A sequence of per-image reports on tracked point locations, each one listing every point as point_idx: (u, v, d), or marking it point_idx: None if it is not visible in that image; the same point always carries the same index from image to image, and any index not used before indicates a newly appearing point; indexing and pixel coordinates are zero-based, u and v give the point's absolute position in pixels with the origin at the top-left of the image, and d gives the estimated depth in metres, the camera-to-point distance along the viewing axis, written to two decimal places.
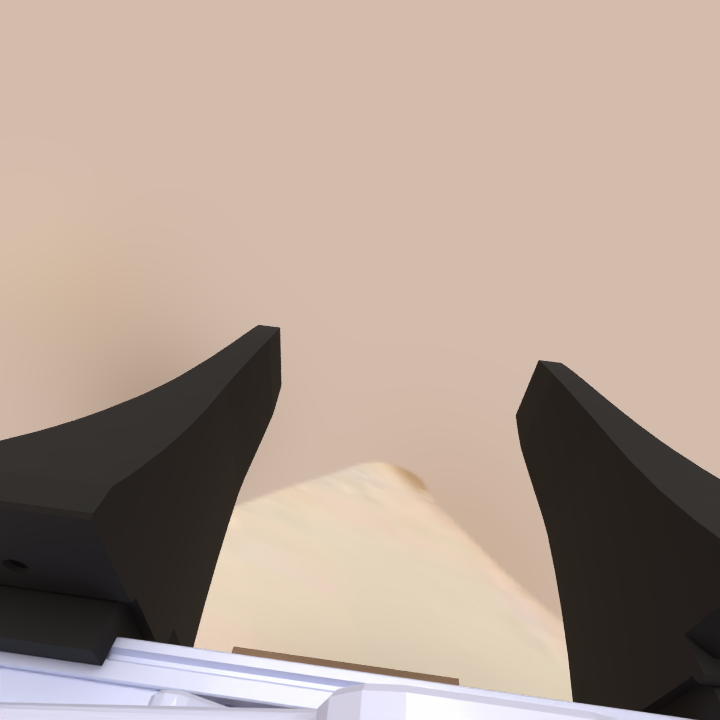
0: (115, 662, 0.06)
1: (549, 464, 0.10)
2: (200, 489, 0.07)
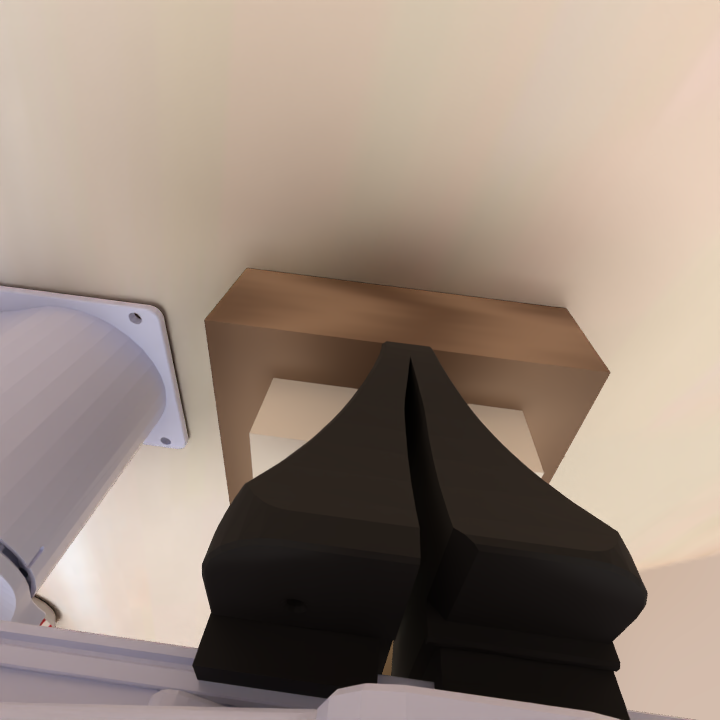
0: (115, 662, 0.06)
1: None
2: None
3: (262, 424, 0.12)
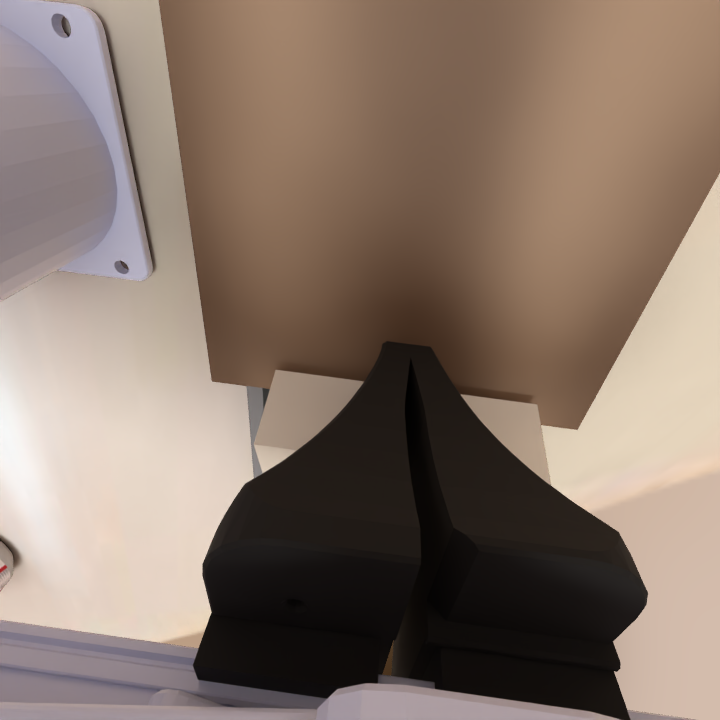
0: (115, 662, 0.06)
1: None
2: None
3: (266, 432, 0.11)
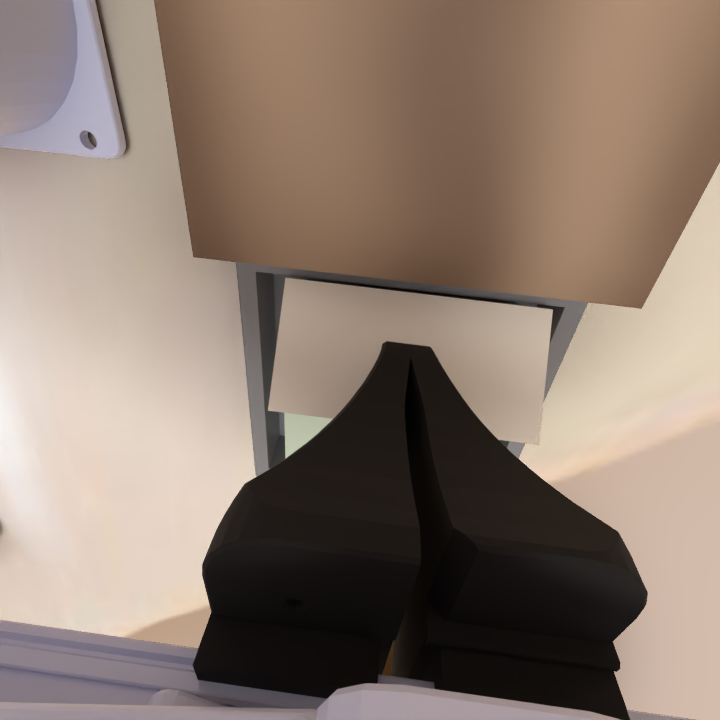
0: (115, 662, 0.05)
1: None
2: None
3: None
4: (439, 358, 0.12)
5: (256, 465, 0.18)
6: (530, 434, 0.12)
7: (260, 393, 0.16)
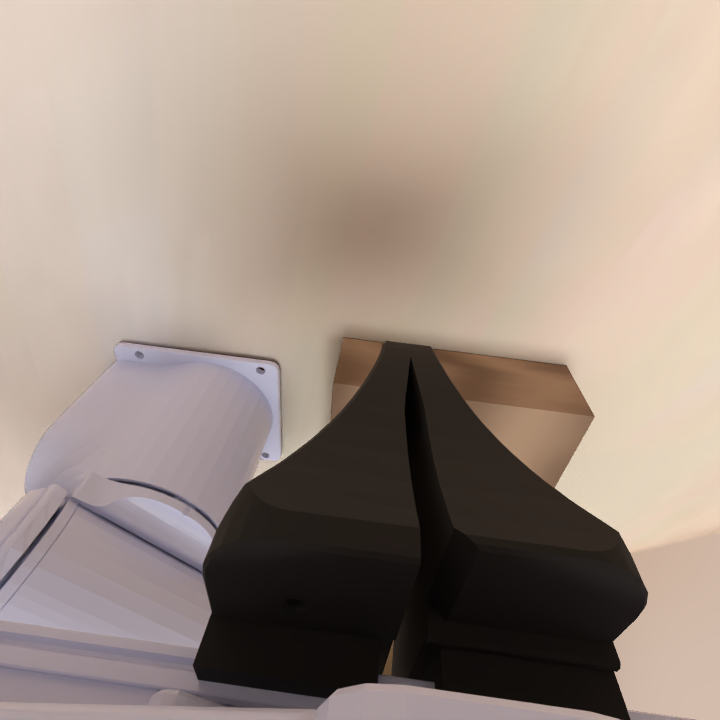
0: (115, 662, 0.06)
1: None
2: None
3: None
4: None
5: None
6: None
7: None
